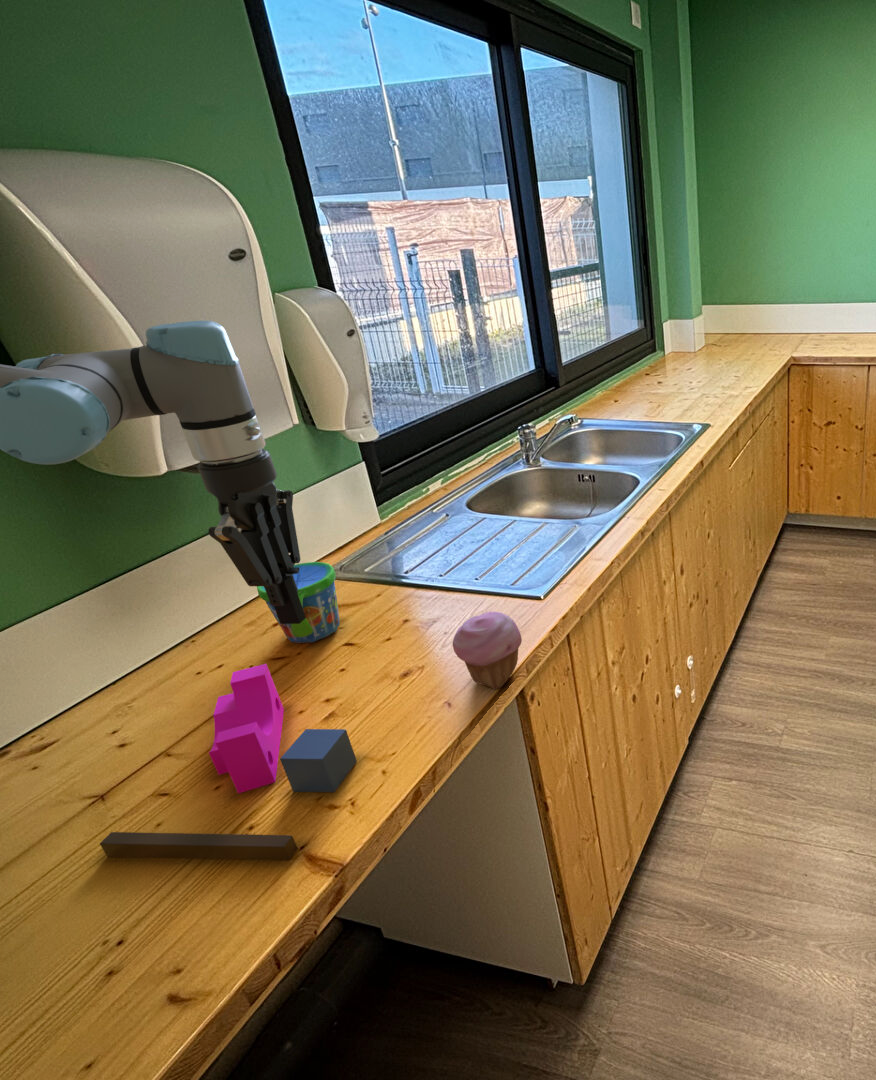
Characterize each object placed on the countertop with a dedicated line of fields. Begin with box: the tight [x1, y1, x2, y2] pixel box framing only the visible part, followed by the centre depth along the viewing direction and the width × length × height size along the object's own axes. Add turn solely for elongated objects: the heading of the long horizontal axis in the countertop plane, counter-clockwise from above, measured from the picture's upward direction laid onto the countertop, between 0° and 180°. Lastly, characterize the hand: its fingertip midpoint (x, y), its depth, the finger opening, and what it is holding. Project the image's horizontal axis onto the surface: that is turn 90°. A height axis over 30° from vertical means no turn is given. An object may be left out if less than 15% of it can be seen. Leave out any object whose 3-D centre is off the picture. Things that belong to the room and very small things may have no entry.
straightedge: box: [99, 831, 299, 861], centre depth 73 cm, size 20×2×2 cm, turn 87°
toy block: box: [208, 663, 285, 794], centre depth 85 cm, size 15×6×8 cm, turn 26°
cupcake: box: [452, 611, 523, 689], centre depth 97 cm, size 9×9×10 cm
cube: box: [279, 728, 358, 793], centre depth 82 cm, size 5×5×5 cm
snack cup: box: [256, 561, 340, 644], centre depth 110 cm, size 16×10×10 cm
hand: (293, 620), depth 95 cm, fingers closed
